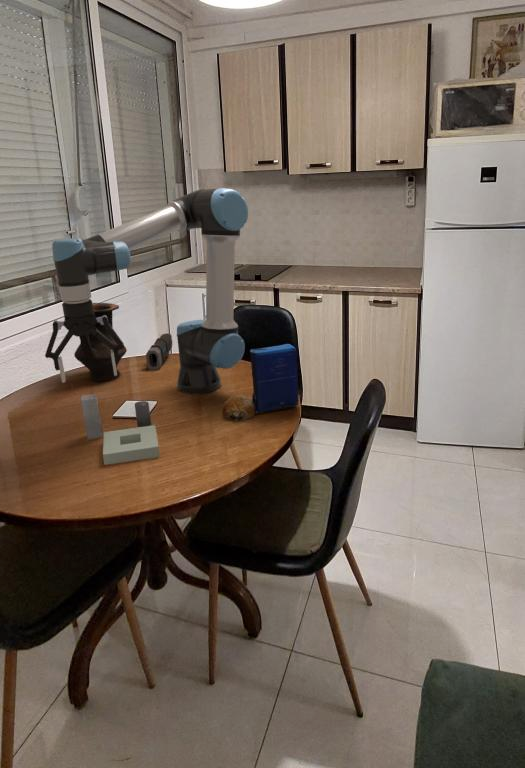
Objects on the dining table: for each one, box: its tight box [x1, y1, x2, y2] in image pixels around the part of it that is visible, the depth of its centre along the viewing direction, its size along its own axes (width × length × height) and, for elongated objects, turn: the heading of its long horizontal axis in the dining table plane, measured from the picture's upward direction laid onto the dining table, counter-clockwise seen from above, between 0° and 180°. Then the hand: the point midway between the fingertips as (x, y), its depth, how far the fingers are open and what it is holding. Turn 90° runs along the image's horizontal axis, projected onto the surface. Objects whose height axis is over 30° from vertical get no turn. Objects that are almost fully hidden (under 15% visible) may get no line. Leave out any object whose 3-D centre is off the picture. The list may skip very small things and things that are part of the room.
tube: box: [145, 333, 173, 372], centre depth 224 cm, size 11×7×30 cm
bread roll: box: [222, 394, 256, 422], centre depth 167 cm, size 10×10×8 cm
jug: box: [74, 302, 128, 382], centre depth 201 cm, size 21×18×30 cm
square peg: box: [80, 393, 104, 441], centre depth 156 cm, size 4×4×12 cm
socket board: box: [102, 424, 161, 466], centre depth 149 cm, size 14×14×3 cm
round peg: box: [134, 400, 152, 428], centre depth 160 cm, size 4×4×8 cm
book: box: [249, 343, 300, 414], centre depth 167 cm, size 14×5×20 cm, turn 108°
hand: (90, 377), depth 151 cm, fingers open, 13 cm apart
